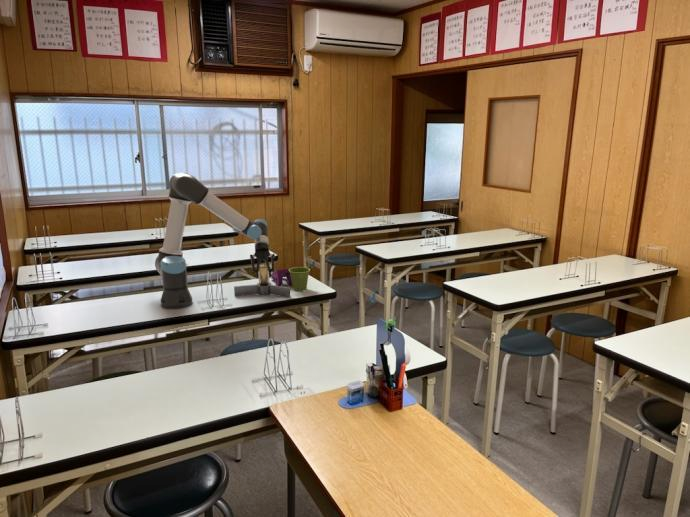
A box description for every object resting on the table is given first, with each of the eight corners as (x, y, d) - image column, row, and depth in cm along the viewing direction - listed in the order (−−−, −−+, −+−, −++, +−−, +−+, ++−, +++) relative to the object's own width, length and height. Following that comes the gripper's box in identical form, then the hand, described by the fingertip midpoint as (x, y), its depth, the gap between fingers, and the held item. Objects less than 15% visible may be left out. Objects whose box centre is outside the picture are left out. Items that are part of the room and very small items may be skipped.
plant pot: (314, 287, 277) (314, 268, 274) (303, 294, 267) (303, 273, 264) (296, 284, 282) (295, 265, 279) (284, 290, 272) (284, 271, 269)
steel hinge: (233, 295, 263) (233, 286, 262) (238, 290, 272) (238, 281, 271) (289, 297, 261) (289, 288, 260) (292, 291, 271) (292, 282, 269)
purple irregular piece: (271, 290, 292) (279, 285, 275) (269, 276, 293) (276, 270, 277) (286, 288, 295) (295, 283, 279) (284, 274, 297) (293, 268, 280)
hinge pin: (259, 288, 265) (258, 266, 262) (261, 285, 269) (260, 264, 266) (266, 288, 265) (266, 266, 262) (268, 285, 269) (267, 264, 266)
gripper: (277, 248, 279) (280, 285, 267) (246, 249, 275) (247, 287, 264) (277, 241, 272) (280, 278, 261) (245, 242, 269) (247, 280, 257)
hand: (264, 283), depth 262 cm, fingers closed on hinge pin, 4 cm apart
